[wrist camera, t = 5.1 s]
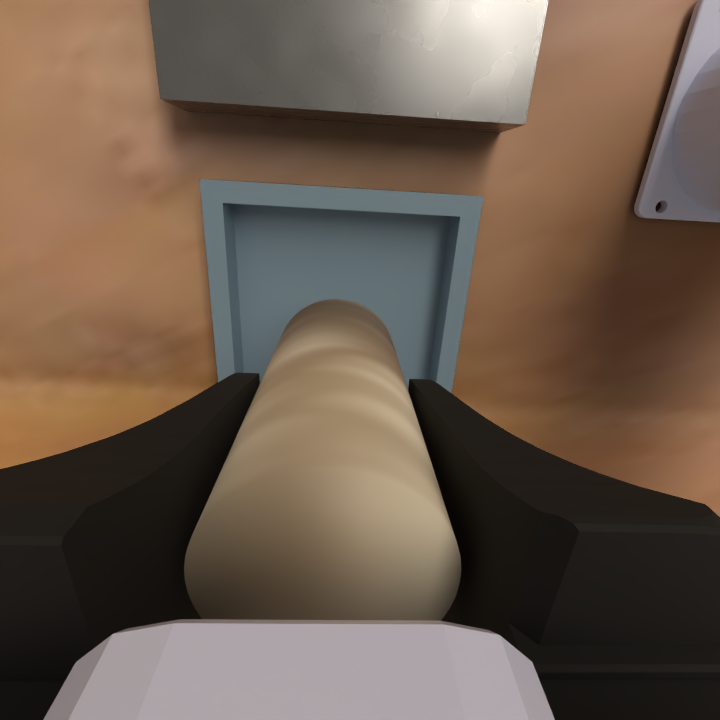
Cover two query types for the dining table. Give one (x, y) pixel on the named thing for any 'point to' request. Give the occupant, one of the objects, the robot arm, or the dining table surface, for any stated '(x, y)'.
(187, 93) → the hitch block
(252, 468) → the birch peg
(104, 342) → the dining table surface
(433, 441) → the robot arm
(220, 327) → the slate tray
